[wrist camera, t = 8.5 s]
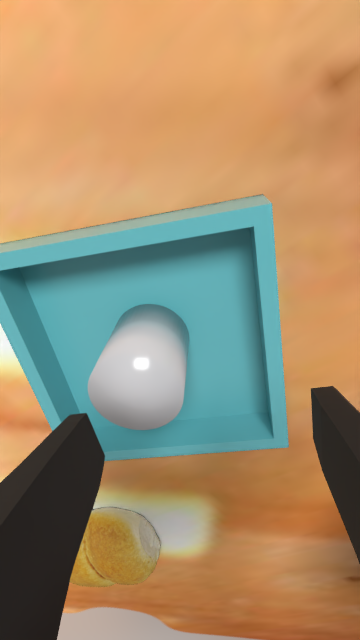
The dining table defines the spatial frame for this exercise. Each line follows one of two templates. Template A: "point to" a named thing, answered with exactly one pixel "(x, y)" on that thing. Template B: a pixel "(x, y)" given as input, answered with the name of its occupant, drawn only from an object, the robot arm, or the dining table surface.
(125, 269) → the tray
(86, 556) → the bread roll
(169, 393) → the white cylinder
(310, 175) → the dining table surface
